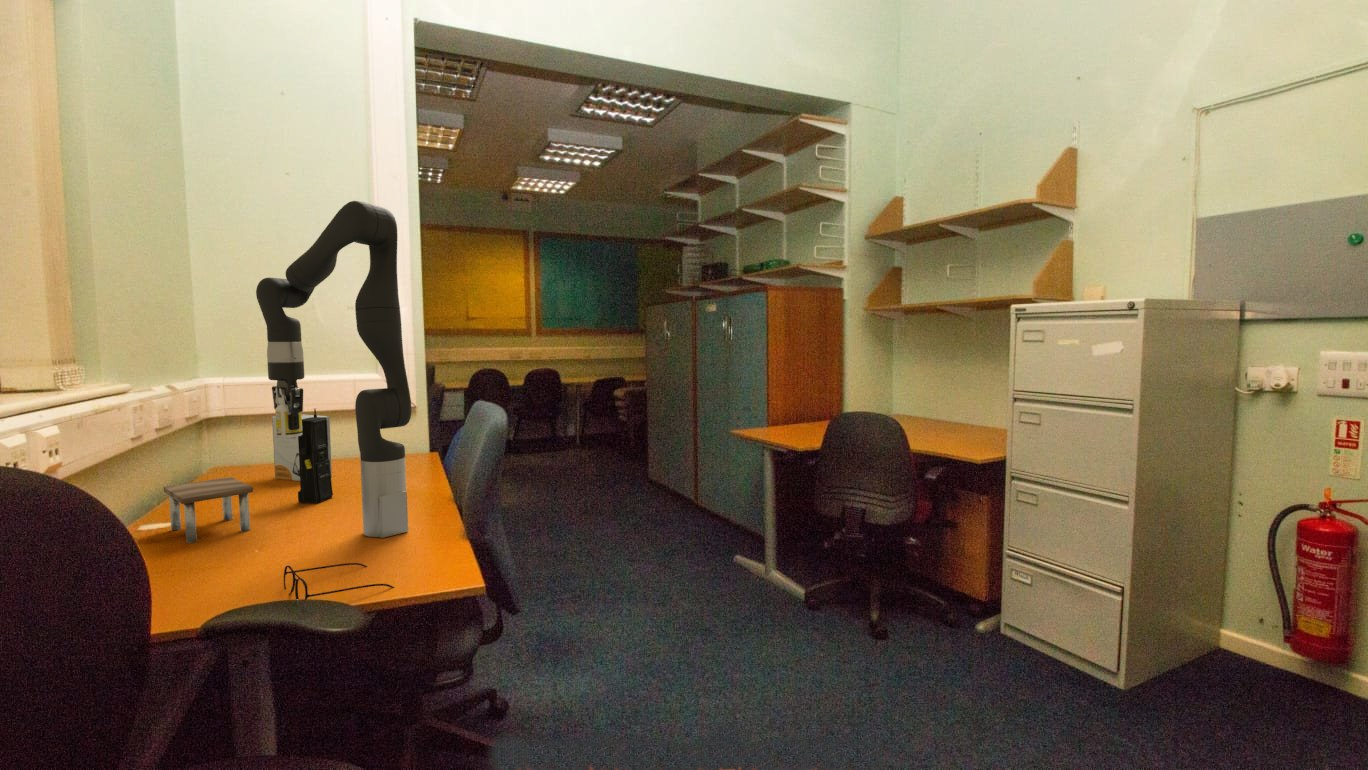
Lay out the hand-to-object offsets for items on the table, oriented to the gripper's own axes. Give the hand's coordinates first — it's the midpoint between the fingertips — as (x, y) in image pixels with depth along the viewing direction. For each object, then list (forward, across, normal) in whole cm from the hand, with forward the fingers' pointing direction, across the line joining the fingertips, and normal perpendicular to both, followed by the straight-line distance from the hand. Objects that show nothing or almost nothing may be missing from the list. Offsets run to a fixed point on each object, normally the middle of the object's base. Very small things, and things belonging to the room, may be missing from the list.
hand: (289, 428), depth 153 cm
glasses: (+23, -55, +11) cm, 61 cm away
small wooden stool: (+22, +2, +16) cm, 28 cm away
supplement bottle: (+2, 0, 0) cm, 2 cm away
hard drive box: (+22, +42, -17) cm, 51 cm away
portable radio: (+22, +11, -9) cm, 27 cm away
